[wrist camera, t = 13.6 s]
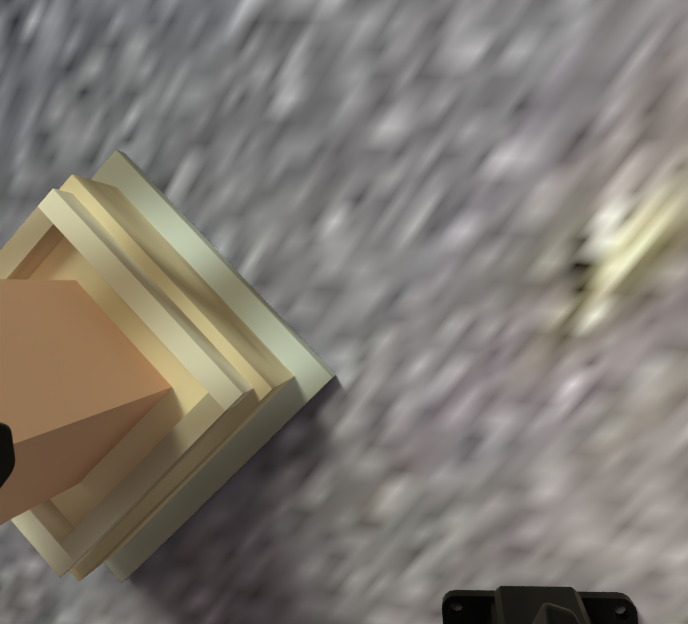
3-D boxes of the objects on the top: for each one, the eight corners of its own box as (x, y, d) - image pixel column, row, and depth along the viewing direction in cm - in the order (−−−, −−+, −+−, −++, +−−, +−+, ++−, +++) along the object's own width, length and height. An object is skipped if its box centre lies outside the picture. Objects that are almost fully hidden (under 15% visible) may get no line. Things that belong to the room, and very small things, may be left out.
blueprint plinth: (335, 375, 22) (307, 396, 18) (130, 576, 24) (60, 637, 20) (124, 153, 23) (52, 124, 19) (-55, 362, 25) (-157, 377, 21)
